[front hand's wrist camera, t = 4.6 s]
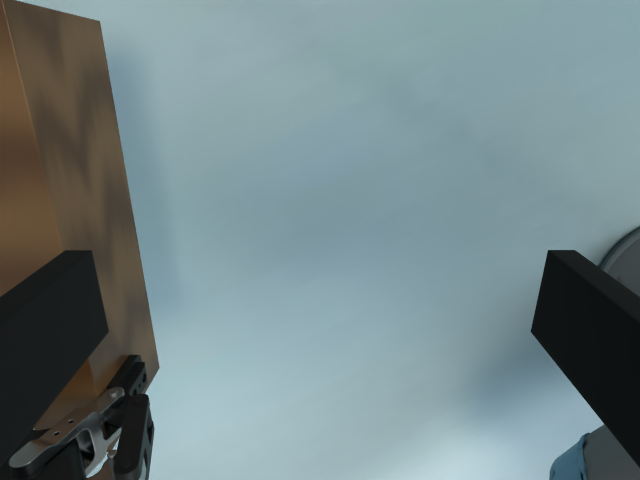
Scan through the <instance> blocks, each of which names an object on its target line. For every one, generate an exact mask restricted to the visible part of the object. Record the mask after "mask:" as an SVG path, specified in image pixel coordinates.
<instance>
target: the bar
mask: <svg viewBox="0 0 640 480" xmlns="http://www.w3.org/2000/svg"><path fill="white" fill-rule="evenodd" d="M65 250H92V253H93V258H94V263H95V267H96V272H97V277H98V281H99V286H100V291H101V296H102V300H103V305H104V310H105V314H106V319H107V324H108V328H109V333H108V334H107V335H106V336H105V338H104V339H103V340H102V341H101V343H100V344H99V345H98V346H97V348H96V349H95V350H94V351H93V353H92V354H91V355H90V356H89V358H88V359H87V360H86V361H85V363H84V364H83V365H82V366H81V368H80V369H79V370H78V371H77V373H76V374H75V375H74V376H73V378H72V379H71V380H70V381H69V383H68V384H67V385H66V386H65V388H64V389H63V390H62V391H61V393H60V394H59V395H58V396H57V398H56V399H55V400H54V401H53V403H52V404H51V405H50V407H49V408H48V409H47V410H46V412H45V413H44V414H43V415H42V417H41V418H40V419H39V420H38V422H37V423H36V424H35V425H34V429H35V430H43V429H48V428H52V427H53V426H55V425H56V424H57V423H58V422H59V421H61V420H62V419H63V418H64V417H66V416H67V415H68V414H69V413H70V412H72V411H73V410H74V409H75V408H78V407H80V408H84V409H85V408H86V407H88V406H89V405H90V404H91V403H92V402H93V401H95V400H96V399H97V398H98V397H99V396H101V395H102V394H103V393H104V392H105V391H107V385H108V384H109V383H110V381H111V380H112V378H113V377H114V376H115V374H116V373H117V371H118V370H119V369H120V367H121V366H122V364H123V363H124V362H125V360H126V359H127V357H128V356H129V355H141V358H142V362H145V365H146V371H147V376H148V384H147V385H146V387H145V388H144V390H143V392H142V394H145V392H146V390H147V389H148V387H149V385H150V383H151V382H152V380H153V378H154V377H155V375H156V373H157V371H158V370H159V362H158V356H157V350H156V344H155V339H154V333H153V327H152V321H151V315H150V310H149V304H148V298H147V292H146V286H145V281H144V275H143V269H142V263H141V257H140V251H139V246H138V240H137V234H136V228H135V222H134V217H133V211H132V205H131V199H130V193H129V188H128V182H127V176H126V170H125V164H124V159H123V153H122V147H121V141H120V135H119V130H118V124H117V118H116V112H115V106H114V100H113V95H112V89H111V83H110V77H109V71H108V66H107V60H106V54H105V48H104V42H103V37H102V31H101V25H100V21H97V20H93V19H89V18H85V17H81V16H77V15H73V14H69V13H65V12H61V11H56V10H52V9H48V8H44V7H40V6H36V5H32V4H28V3H24V2H20V1H16V0H0V297H1V296H2V295H3V294H5V293H6V292H8V291H9V290H10V289H12V288H13V287H15V286H16V285H17V284H19V283H20V282H22V281H23V280H24V279H26V278H27V277H29V276H30V275H31V274H33V273H34V272H36V271H37V270H38V269H40V268H41V267H43V266H44V265H45V264H47V263H48V262H49V261H51V260H52V259H54V258H55V257H56V256H58V255H59V254H61V253H62V252H63V251H65ZM106 421H107V417H105V418H104V419H103V420H102V422H101V425H102V424H104V423H105V422H106ZM119 437H120V435H119V436H118V437H117V438H116V439H115V440H114V441H113V442H112V443H111V444H110V445H109V446H108V448H107V452H110V451H111V450H112V449H113V448H114V446H115V444H116V442H117V441H118V439H119ZM75 438H76V436H75ZM76 440H77V438H76Z"/></svg>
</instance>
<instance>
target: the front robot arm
mask: <svg viewBox="0 0 640 480" xmlns="http://www.w3.org/2000/svg"><path fill="white" fill-rule="evenodd" d="M108 333H109V328H108V324H107V319H106V314H105V310H104V305H103V300H102V296H101V291H100V286H99V281H98V277H97V272H96V267H95V263H94V258H93V253H92V250H65V251H63V252H62V253H61V254H59V255H58V256H56V257H55V258H54V259H52V260H51V261H49V262H48V263H47V264H45V265H44V266H43V267H41V268H40V269H38V270H37V271H36V272H34V273H33V274H31V275H30V276H29V277H27V278H26V279H24V280H23V281H22V282H20V283H19V284H17V285H16V286H15V287H13V288H12V289H10V290H9V291H8V292H6V293H5V294H3V295H2V296H1V297H0V468H1V467H2V465H3V464H4V463H5V462H6V460H7V459H8V458H9V457H10V455H11V454H12V453H13V452H14V450H15V449H16V448H17V447H18V445H19V444H20V443H21V442H22V440H23V439H24V438H25V437H26V435H27V434H28V433H29V432H30V430H31V429H32V428H33V427H34V425H35V424H36V423H37V422H38V420H39V419H40V418H41V417H42V415H43V414H44V413H45V412H46V410H47V409H48V408H49V407H50V405H51V404H52V403H53V401H54V400H55V399H56V398H57V396H58V395H59V394H60V393H61V391H62V390H63V389H64V388H65V386H66V385H67V384H68V383H69V381H70V380H71V379H72V378H73V376H74V375H75V374H76V373H77V371H78V370H79V369H80V368H81V366H82V365H83V364H84V363H85V361H86V360H87V359H88V358H89V356H90V355H91V354H92V353H93V351H94V350H95V349H96V348H97V346H98V345H99V344H100V343H101V341H102V340H103V339H104V338H105V336H106V335H107V334H108ZM531 333H532V334H533V335H534V336H535V338H536V339H537V340H538V341H539V343H540V344H541V345H542V346H543V348H544V349H545V350H546V351H547V353H548V354H549V355H550V356H551V358H552V359H553V360H554V361H555V363H556V364H557V365H558V366H559V368H560V369H561V370H562V371H563V373H564V374H565V375H566V376H567V378H568V379H569V380H570V381H571V383H572V384H573V385H574V386H575V388H576V389H577V390H578V391H579V393H580V394H581V395H582V396H583V398H584V399H585V400H586V401H587V403H588V404H589V405H590V407H591V408H592V409H593V410H594V412H595V413H596V414H597V415H598V417H599V418H600V419H601V420H602V422H603V423H604V425H603V426H601V427H599V428H598V429H596V430H595V431H593V432H592V433H587V434H585V435H583V436H582V437H581V438H580V440H579V442H578V443H576V444H575V445H574V446H572V447H571V448H570V449H569V450H567V451H566V452H565V453H563V454H562V455H561V456H559V457H558V458H557V459H556V460H555V461H554V463H553V464H552V466H551V469H550V478H549V480H640V228H639V229H637V230H635V231H634V232H632V233H631V234H629V235H628V236H627V237H625V238H624V239H623V240H622V241H620V242H619V243H618V244H617V245H616V246H615V247H614V248H613V249H612V250H611V252H610V253H609V254H608V255H607V256H606V258H605V259H604V261H603V262H602V264H601V265H600V267H597V266H596V265H595V264H593V263H592V262H591V261H589V260H588V259H586V258H585V257H584V256H582V255H581V254H579V253H578V252H577V251H575V250H548V253H547V258H546V263H545V267H544V272H543V277H542V281H541V286H540V291H539V296H538V300H537V305H536V310H535V314H534V319H533V324H532V328H531Z"/></svg>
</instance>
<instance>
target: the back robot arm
mask: <svg viewBox="0 0 640 480" xmlns="http://www.w3.org/2000/svg"><path fill="white" fill-rule="evenodd" d="M147 384H148V376H147V371H146V365H145V362H142V358H141V355H129V356H128V357H127V359H126V360H125V362H124V363H123V364H122V366H121V367H120V369H119V370H118V371H117V373H116V374H115V376H114V377H113V378H112V380H111V381H110V383H109V384H108V385H107V391H105V392H104V393H103V394H102V395H101V396H99V397H98V398H97V399H96V400H95V401H93V402H92V403H91V404H90V405H89V406H88V407H86V408H85V409H84V408H80V407H78V408H75V409H74V410H73V411H72V412H70V413H69V414H68V415H67V416H66V417H64V418H63V419H62V420H61V421H59V422H58V423H57V424H56V425H55V426H53V427H52V428H48V429H43V430H33V429H34V427H33V428H32V429H31V430H30V432H29V433H28V434H27V435H26V437H25V438H24V439H23V440H22V442H21V443H20V444H19V445H18V447H17V448H16V449H15V450H14V452H13V453H12V454H11V455H10V457H9V458H8V459H7V460H6V462H5V463H4V464H3V465H2V467H1V468H0V480H148V479H149V471H150V462H151V454H152V446H153V437H154V424H153V421H152V418H151V412H150V407H149V406H150V402H149V397H148V395H146V394H142V392H143V390H144V388H145V387H146V385H147ZM105 417H107V421H106V422H105V423H104V424H102V425H101V422H102V420H103V419H104V418H105ZM119 435H120V438H119V443H118V448H117V450H111V451H110V452H109V453H108V454H107V457H108V459H107V460H106V461H105V462H104V464H103V466H102V468H101V470H100V471H99V472H98V473H97V474H95V475H94V476H92V477H89V478H86V476H87V475H88V474H89V473H90V472H91V471H92V470H93V469H94V468H95V467H96V466H97V465H98V464H99V463H100V462H101V461H102V460H103V459H104V457H105V455H106V453H107V448H108V446H109V445H110V444H111V443H112V442H113V441H114V440H115V439H116V438H117V437H118V436H119ZM75 436H76V438H77V440H76V438H75Z"/></svg>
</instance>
